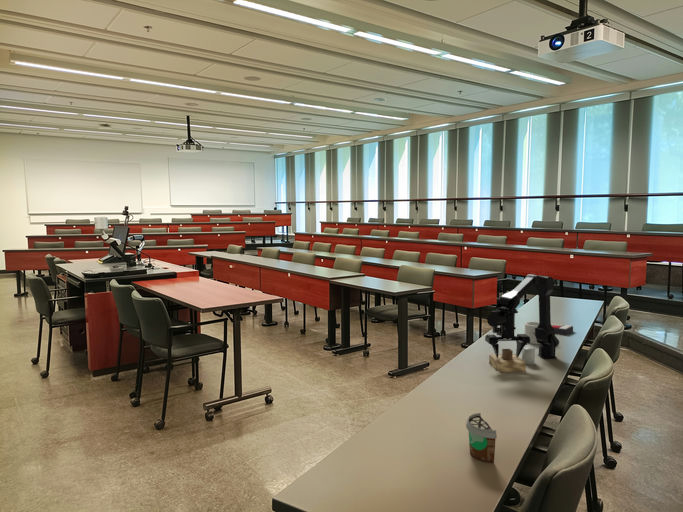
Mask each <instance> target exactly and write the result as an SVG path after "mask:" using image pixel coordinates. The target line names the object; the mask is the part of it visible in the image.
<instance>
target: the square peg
mask: <svg viewBox="0 0 683 512" xmlns="http://www.w3.org/2000/svg"><path fill="white" fill-rule="evenodd" d="M501 354H502V359H503V360H512V359H513V354H514V353H513V350H512V349H510V348H502V350H501Z"/></svg>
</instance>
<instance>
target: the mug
mask: <svg viewBox="0 0 683 512" xmlns="http://www.w3.org/2000/svg"><path fill="white" fill-rule="evenodd" d="M538 325H539V321H526V322H525V323H524V333H523V334H526V335H527V336H529V337H530V343H529V344H531V345H540V343H537V340H536V336H535V328H536V327H538Z"/></svg>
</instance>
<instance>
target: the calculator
mask: <svg viewBox="0 0 683 512" xmlns="http://www.w3.org/2000/svg"><path fill="white" fill-rule="evenodd" d="M551 325H552V327H553V329H554V331H555V335H556V334H557V335H562V336H569V335H570V334H572V333H574V326H573V325H569V324H561V323H554V322H553V323H552V322H551Z"/></svg>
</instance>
